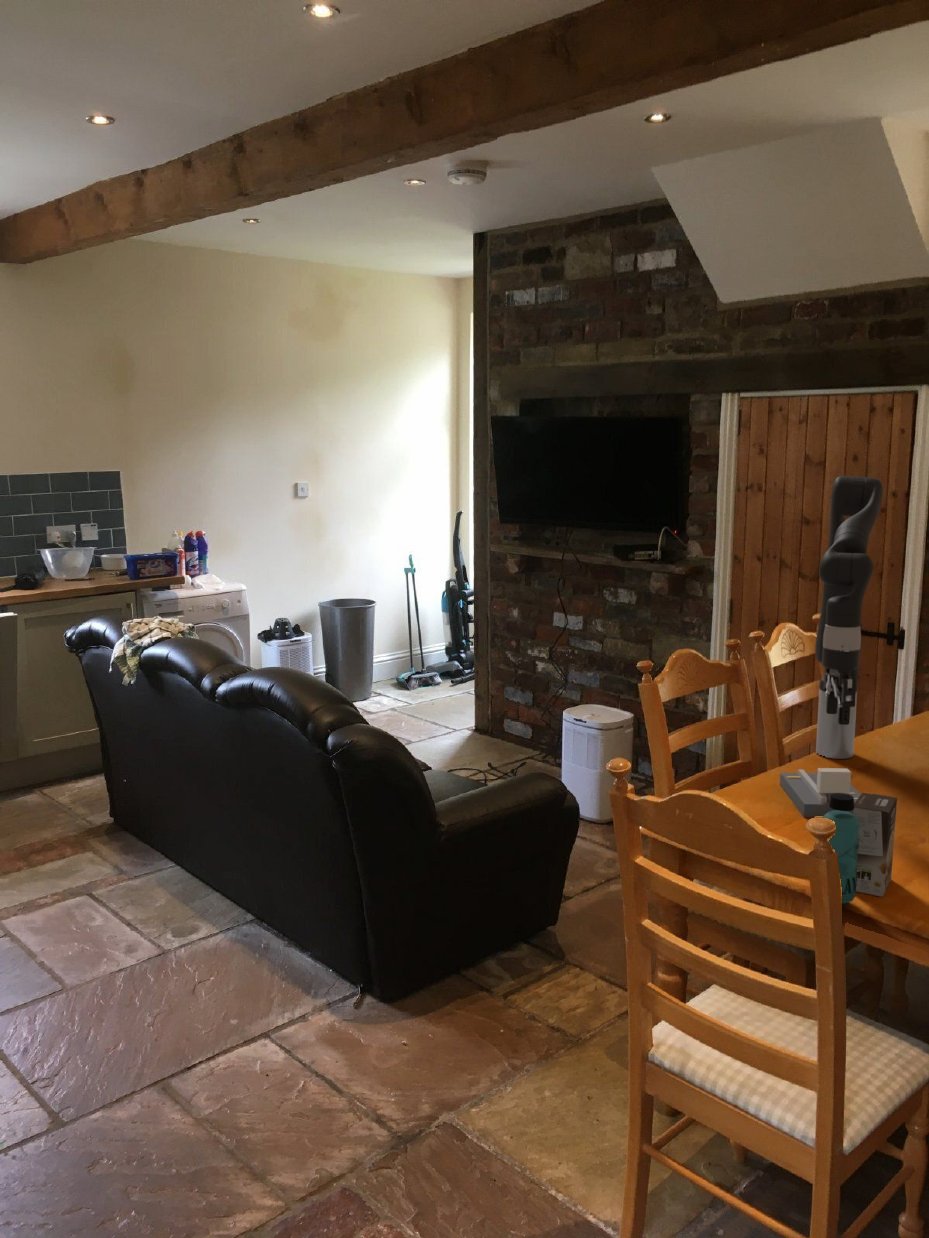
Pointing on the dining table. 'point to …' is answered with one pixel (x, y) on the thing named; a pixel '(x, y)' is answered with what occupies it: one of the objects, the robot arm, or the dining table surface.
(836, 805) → the beverage bottle
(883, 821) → the coffee box
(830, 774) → the fader
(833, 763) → the dining table surface
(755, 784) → the dining table surface
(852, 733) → the robot arm
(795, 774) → the console
